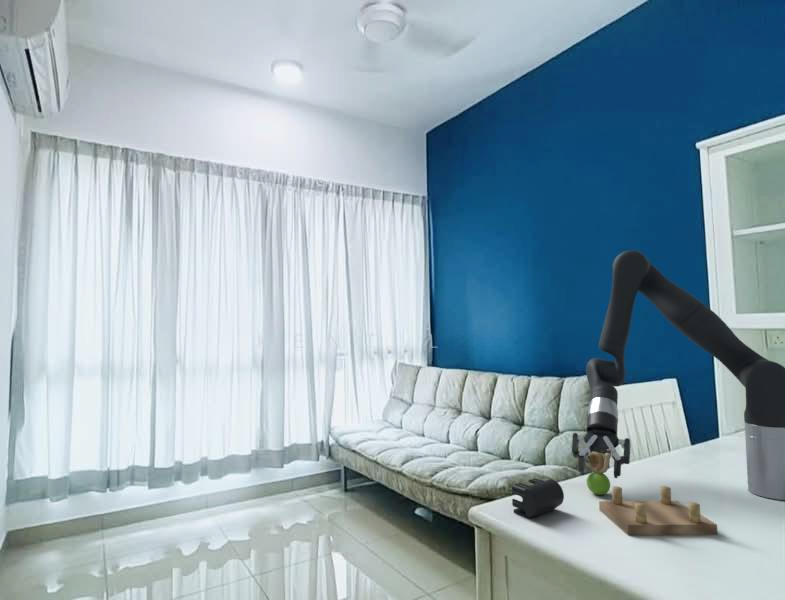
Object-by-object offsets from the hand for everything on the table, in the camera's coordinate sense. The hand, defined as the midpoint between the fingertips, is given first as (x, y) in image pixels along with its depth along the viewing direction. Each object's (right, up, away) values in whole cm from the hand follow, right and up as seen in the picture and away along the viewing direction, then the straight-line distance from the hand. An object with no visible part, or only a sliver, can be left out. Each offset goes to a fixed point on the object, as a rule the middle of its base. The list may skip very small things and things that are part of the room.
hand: (598, 474), depth 116 cm
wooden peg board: (+5, -4, -15) cm, 17 cm away
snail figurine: (+1, -6, +1) cm, 6 cm away
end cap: (-18, -5, -10) cm, 21 cm away
